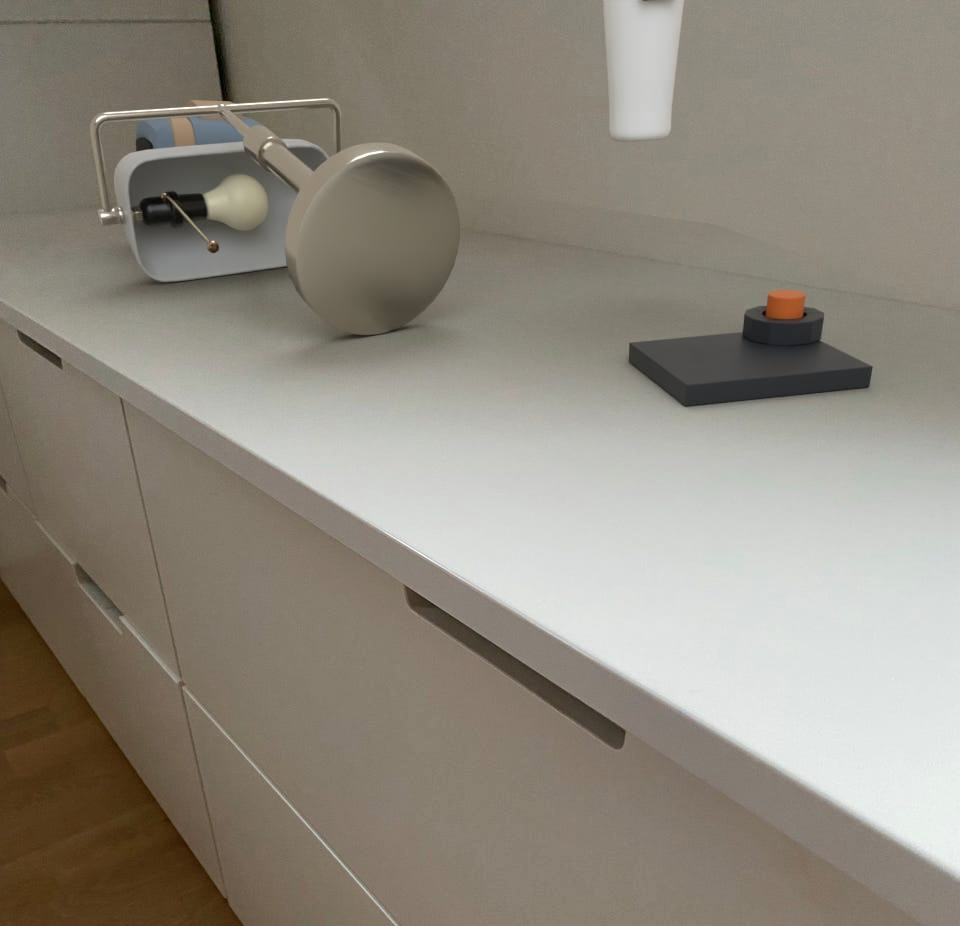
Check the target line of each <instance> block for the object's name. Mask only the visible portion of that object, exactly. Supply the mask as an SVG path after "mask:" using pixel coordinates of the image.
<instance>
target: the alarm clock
mask: <svg viewBox="0 0 960 926" xmlns="http://www.w3.org/2000/svg"><path fill="white" fill-rule="evenodd" d="M221 103H222V104H236V103H235V102H232V101H227V100H205V99H203V100H201V99H192V100H189V101H187V102H185V104H184V105H183V107H192V106H207V105H218V104H221ZM234 115H236V116H237V117H238V118H239V119H240V120H241V121H243V122H244V123H245V124H246V125H247V126H248V127H252V126H255V125H263V126H265V125H264V124H262V123H261V122H259V121H257V120H255V119H252V118H250V117H247V116H244V115H243V113H242V114H234ZM135 133H136V134H135V150H136V151H135V152H137V151H142V150H149V149H159V148H170V147H180V146H193V145H206V144H218V143H231V142H243V137H244V136H242V135H241V134H240V133H239V132H238V131H237V130H236V129H234V128H233V127H232V126H231V125H230V124H229V123H228V122H226V121H225V120H224V119H223V118H220V117H218V116H217V115H213V116H198V117H184V118H169V119H155V120H140V121H137V123H136V132H135Z"/></svg>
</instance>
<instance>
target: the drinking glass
mask: <svg viewBox="0 0 960 926" xmlns="http://www.w3.org/2000/svg"><path fill="white" fill-rule="evenodd" d="M601 4H602V22H603V39H604V53H605V69H606V71H605V72H606V83H607V84H606V87H607V103H608V104H607V105H608V135H609V138H610V139H611V140H612V141H615V142H622V143H623V142H624V143H629V142H631V143H632V142H635V143H636V142H651V141H658V140H663V139H666V138H667V137H669V136H670V134H671V131H672V119H673V103H674V93H675V83H676V75H677V65H678V58H679V57H678V56H679V49H680V48H679V47H680V40H681V34H682V33H681V32H682V23H683V15H684V6H685V0H648V1H643V0H601Z"/></svg>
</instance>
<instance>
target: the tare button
mask: <svg viewBox="0 0 960 926" xmlns="http://www.w3.org/2000/svg"><path fill="white" fill-rule="evenodd" d="M806 295H807V294H806V293H805V292H803V291H799V290H792V289H778V290H772V291H769V292H768V293H767V298H766V300H767V301H766V306H767V307H766V317H770V318H776V319H797V318H802V317H803V311H804V307H805V304H806V303H805V302H806Z"/></svg>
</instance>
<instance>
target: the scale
mask: <svg viewBox="0 0 960 926" xmlns="http://www.w3.org/2000/svg"><path fill="white" fill-rule="evenodd" d="M766 307H767V305H757V306H755V307H751V308H748V309H746V311H745V312H744V315H743V326H742V331H740V332H730V333H729V332H728V333H720V334H718V333H717V334H708V335H696V336H686V337H675V338H674V337H673V338H665V339H664V338H663V339H653V340H643V341H631V342H629V344H628V362H629V363H630V364H631V365H632V366H634V367H635V368H636V369H637V370H639V371H640V372H641V373H643V374H644V375H645V376H646V377H648V378H649V379H650V380H651V381H652V382H654V383H655V384H656V385H658V386H659V387H660V388H661V389H662V390H664V391H665V392H667V393H668V394H669V395H670V396H672V397H673V398H674V399H675V400H677V402H679V403H680V404H682V405H683V406H685V407H691V406H699V405H700V406H702V405H711V404H719V403H721V404H722V403H730V402H731V403H732V402H739V401H740V402H741V401H750V400H758V399H770V398H777V397H787V396H796V395H806V394H816V393H824V392H825V393H826V392H835V391H845V390H854V389H862V388H863V389H864V388H869V387H870V386H871V379H872V373H873V367H874V366H873V365H871V364H869V363H867V362H864V361H863V360H860V359H858V358H856V357H855V356H852V355H850V354H848V353H846V352H844V351H842V350H840V349H838V348H836V347H834V346H832V345H830V344H829V343H826V342H824V341H822V334H823V327H824V321H825V312H823V311H822V310H819V309H817V308H815V307H809V306H804V311H803V317H802V318H797V319H776V318H770V317H766Z"/></svg>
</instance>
